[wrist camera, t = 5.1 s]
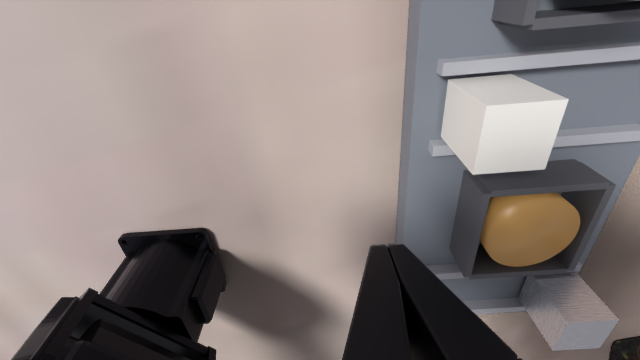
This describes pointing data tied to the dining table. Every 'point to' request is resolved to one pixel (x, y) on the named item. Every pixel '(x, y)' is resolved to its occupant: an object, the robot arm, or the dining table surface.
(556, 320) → the grey metal block
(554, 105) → the lever ivory
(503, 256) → the button amber
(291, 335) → the dining table surface
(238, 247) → the dining table surface
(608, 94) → the control panel
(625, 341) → the black and yellow box
